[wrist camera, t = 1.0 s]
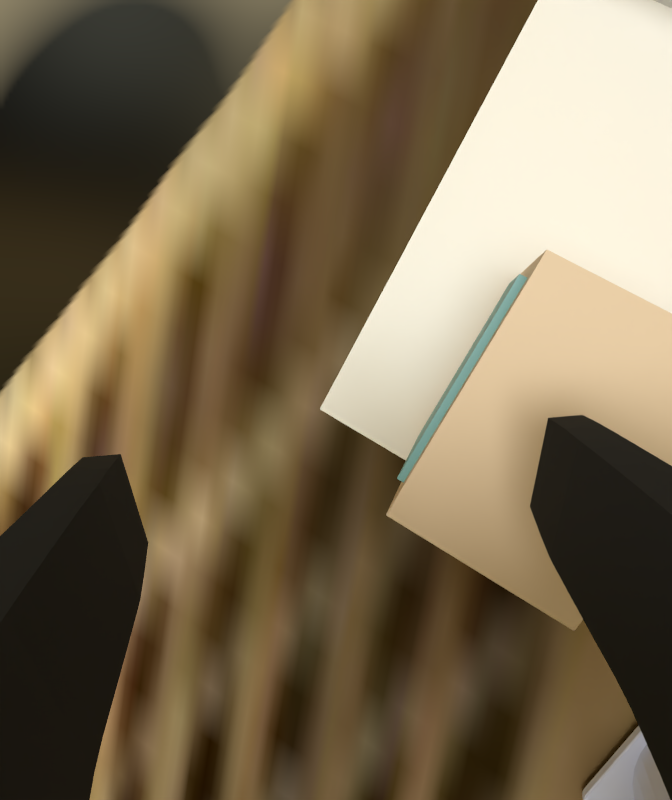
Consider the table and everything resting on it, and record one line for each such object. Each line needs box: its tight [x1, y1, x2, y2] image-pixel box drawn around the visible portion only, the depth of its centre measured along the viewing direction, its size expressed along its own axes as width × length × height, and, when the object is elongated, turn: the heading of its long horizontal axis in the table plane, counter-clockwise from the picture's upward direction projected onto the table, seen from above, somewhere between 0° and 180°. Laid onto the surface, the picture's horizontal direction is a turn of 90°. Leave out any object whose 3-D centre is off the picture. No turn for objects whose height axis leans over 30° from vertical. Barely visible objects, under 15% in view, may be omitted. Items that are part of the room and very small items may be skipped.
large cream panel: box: [320, 0, 672, 460], centre depth 17 cm, size 15×18×4 cm
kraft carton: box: [386, 250, 672, 631], centre depth 16 cm, size 5×7×8 cm
